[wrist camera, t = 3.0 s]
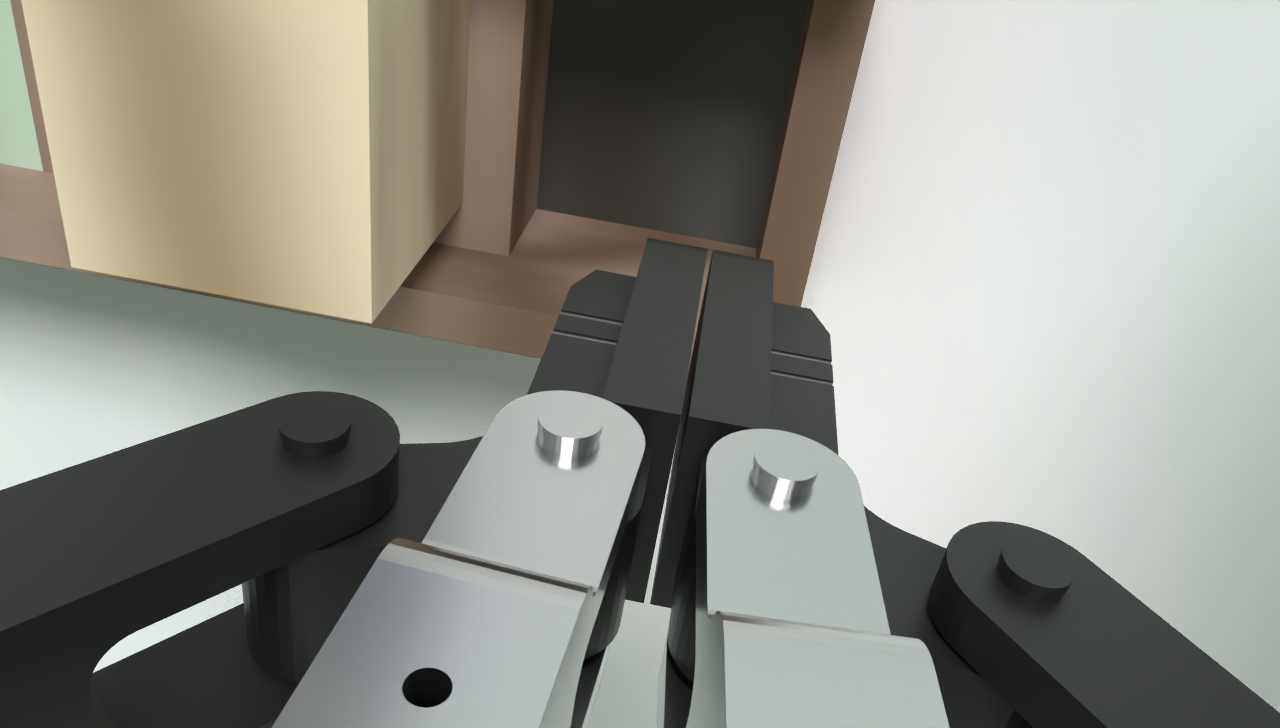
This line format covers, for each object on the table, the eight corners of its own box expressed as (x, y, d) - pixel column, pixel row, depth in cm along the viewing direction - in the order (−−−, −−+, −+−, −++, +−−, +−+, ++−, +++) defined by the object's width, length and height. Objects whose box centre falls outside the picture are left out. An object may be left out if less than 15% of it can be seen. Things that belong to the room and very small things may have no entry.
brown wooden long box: (893, -144, 19) (921, -99, 14) (792, 286, 24) (785, 435, 19) (-320, -335, 20) (-701, -359, 15) (-184, 108, 25) (-438, 203, 20)
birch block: (473, -63, 18) (367, -1, 14) (463, 202, 20) (371, 323, 16) (197, -109, 18) (9, -61, 14) (222, 159, 21) (71, 267, 17)
